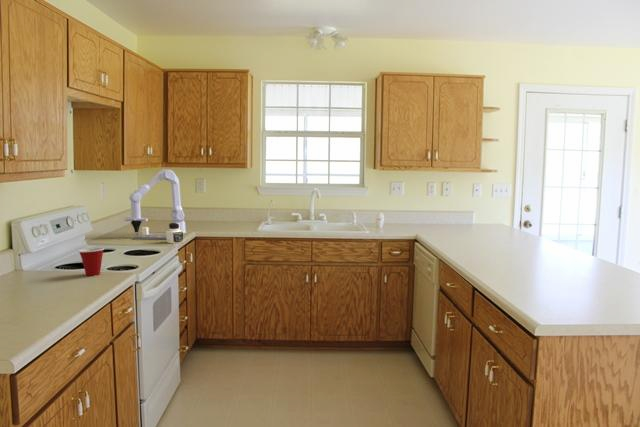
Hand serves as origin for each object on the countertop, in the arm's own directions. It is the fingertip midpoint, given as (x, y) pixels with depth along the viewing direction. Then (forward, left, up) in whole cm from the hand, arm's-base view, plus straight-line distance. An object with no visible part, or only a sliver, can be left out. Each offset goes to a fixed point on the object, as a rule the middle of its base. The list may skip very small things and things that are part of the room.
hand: (136, 232), depth 329 cm
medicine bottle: (+14, +31, -4) cm, 34 cm away
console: (0, +12, -3) cm, 12 cm away
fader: (0, +6, -2) cm, 6 cm away
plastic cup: (+97, +25, -4) cm, 100 cm away
